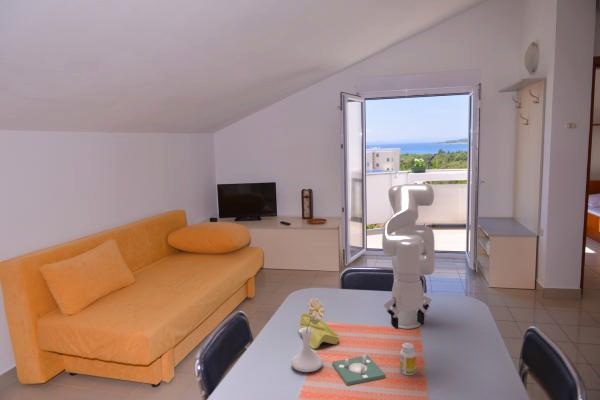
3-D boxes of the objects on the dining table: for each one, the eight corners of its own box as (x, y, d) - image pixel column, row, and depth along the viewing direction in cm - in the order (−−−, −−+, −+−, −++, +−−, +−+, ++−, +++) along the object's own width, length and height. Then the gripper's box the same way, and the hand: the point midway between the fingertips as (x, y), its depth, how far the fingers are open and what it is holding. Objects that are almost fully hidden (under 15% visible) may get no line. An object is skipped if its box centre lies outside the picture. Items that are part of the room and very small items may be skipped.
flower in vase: (300, 378, 149) (298, 308, 145) (286, 364, 159) (283, 298, 155) (333, 368, 155) (331, 301, 151) (317, 354, 165) (315, 291, 161)
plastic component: (341, 338, 173) (321, 333, 168) (334, 355, 173) (314, 351, 168) (318, 317, 190) (299, 311, 185) (311, 332, 190) (293, 327, 185)
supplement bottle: (397, 372, 151) (397, 346, 149) (403, 365, 155) (403, 340, 153) (412, 377, 147) (412, 350, 146) (418, 370, 151) (418, 344, 150)
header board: (367, 358, 161) (367, 347, 160) (385, 377, 148) (385, 366, 147) (332, 364, 157) (331, 353, 157) (347, 385, 144) (346, 373, 143)
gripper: (424, 270, 152) (424, 317, 154) (379, 276, 147) (379, 324, 149) (437, 276, 145) (436, 326, 147) (389, 282, 140) (390, 333, 142)
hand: (407, 325), depth 148 cm, fingers open, 9 cm apart
